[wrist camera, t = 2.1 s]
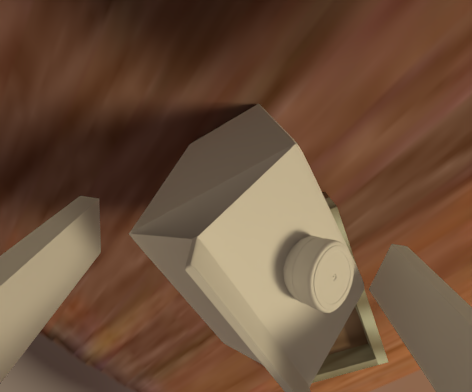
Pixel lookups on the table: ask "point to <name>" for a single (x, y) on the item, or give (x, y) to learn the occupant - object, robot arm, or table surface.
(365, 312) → the board
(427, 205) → the table surface
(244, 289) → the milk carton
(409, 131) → the table surface
